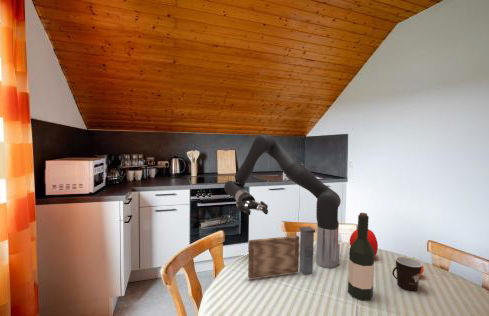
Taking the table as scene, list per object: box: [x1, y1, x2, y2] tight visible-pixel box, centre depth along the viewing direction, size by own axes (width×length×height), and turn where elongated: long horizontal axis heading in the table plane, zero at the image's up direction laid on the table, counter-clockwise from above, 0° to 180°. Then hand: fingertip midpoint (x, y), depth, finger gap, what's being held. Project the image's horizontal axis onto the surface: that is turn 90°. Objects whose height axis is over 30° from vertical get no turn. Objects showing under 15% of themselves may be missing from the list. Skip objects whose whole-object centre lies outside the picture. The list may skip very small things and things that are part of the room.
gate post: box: [298, 226, 316, 276], centre depth 107 cm, size 5×5×19 cm
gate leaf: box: [247, 235, 300, 280], centre depth 103 cm, size 22×2×15 cm, turn 106°
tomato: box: [349, 228, 379, 258], centre depth 123 cm, size 13×11×14 cm
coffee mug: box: [391, 256, 423, 292], centre depth 97 cm, size 12×9×10 cm
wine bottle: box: [347, 212, 376, 302], centre depth 91 cm, size 8×8×30 cm
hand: (258, 212), depth 112 cm, fingers open, 8 cm apart
